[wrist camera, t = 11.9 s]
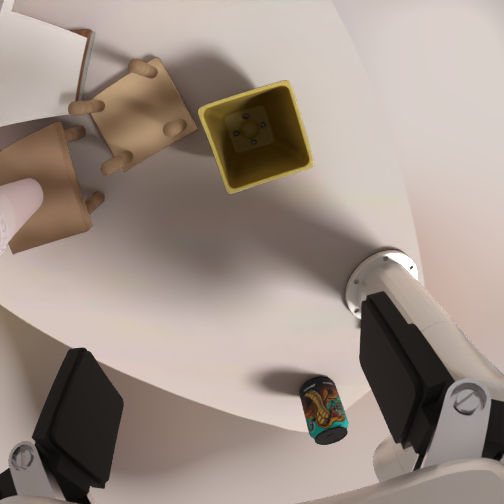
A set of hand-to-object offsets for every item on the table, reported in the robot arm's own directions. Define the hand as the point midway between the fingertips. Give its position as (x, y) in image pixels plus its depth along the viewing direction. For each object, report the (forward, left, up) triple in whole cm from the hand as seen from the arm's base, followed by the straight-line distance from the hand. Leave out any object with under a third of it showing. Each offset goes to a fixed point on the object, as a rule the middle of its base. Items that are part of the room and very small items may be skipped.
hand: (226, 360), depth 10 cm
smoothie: (+5, +21, -22) cm, 30 cm away
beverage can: (-43, -8, -31) cm, 53 cm away
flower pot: (+4, -4, -31) cm, 31 cm away
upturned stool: (+9, +8, -30) cm, 33 cm away
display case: (+19, +19, -31) cm, 41 cm away
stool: (+5, +21, -30) cm, 37 cm away
